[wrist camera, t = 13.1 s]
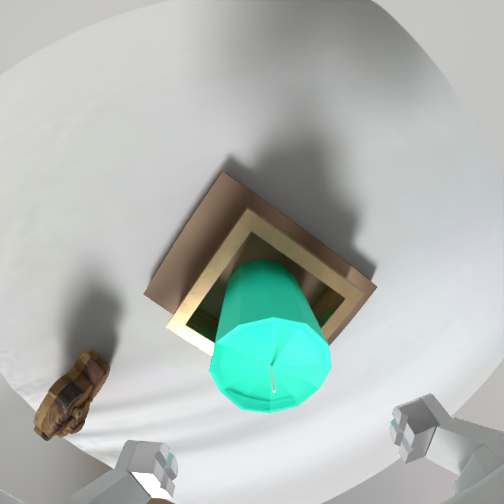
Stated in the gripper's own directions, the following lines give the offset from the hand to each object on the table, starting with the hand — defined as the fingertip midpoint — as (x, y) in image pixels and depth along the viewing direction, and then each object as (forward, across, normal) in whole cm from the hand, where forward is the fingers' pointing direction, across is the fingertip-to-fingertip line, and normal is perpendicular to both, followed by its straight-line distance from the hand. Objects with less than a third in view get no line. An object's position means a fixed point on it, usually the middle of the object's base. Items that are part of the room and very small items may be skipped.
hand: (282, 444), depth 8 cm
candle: (+15, 0, 0) cm, 16 cm away
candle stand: (+17, 0, 0) cm, 17 cm away
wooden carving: (+17, +21, +8) cm, 29 cm away
